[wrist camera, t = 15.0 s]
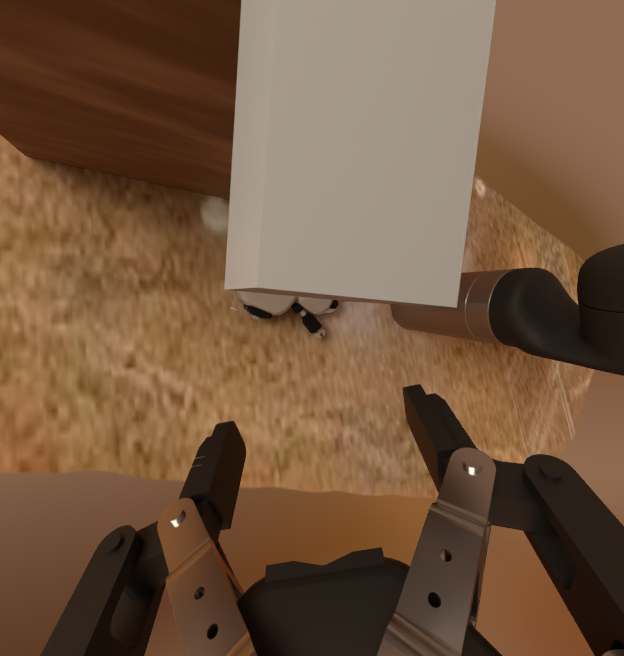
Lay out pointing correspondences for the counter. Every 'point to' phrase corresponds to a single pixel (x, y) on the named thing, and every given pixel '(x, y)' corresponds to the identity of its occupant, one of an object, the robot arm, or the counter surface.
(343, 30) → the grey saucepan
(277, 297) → the robot toy
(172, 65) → the wooden box
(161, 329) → the counter surface
